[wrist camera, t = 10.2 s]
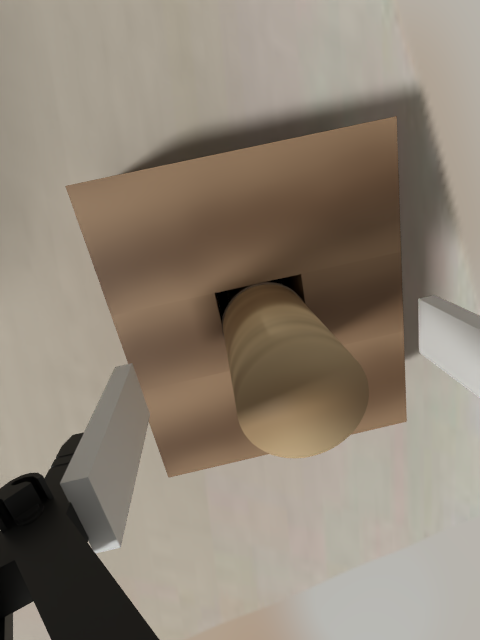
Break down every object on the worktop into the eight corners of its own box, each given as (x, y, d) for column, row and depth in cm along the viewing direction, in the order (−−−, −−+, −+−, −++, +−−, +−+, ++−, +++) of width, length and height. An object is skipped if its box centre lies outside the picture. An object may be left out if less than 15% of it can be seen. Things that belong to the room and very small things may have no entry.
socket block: (99, 186, 22) (65, 185, 17) (348, 134, 23) (396, 116, 17) (174, 420, 29) (168, 477, 23) (366, 376, 29) (406, 421, 23)
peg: (209, 269, 25) (221, 358, 12) (278, 254, 25) (365, 326, 12) (224, 332, 27) (249, 472, 13) (288, 318, 27) (374, 442, 14)
